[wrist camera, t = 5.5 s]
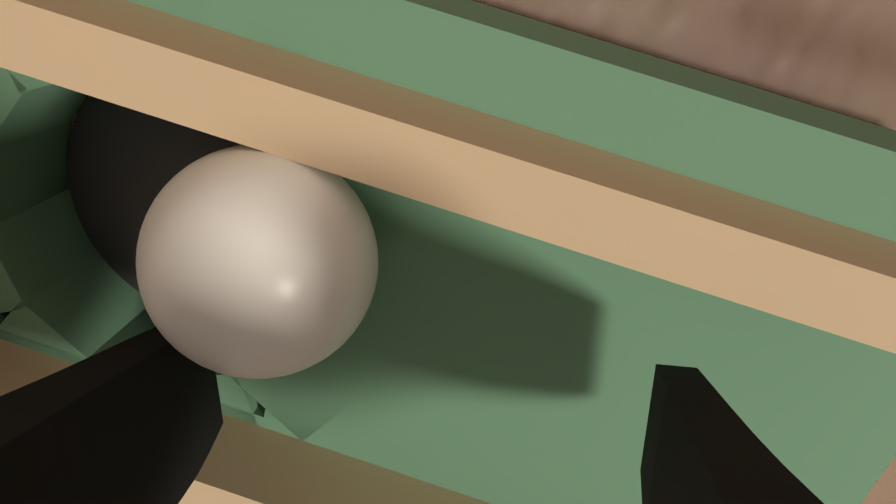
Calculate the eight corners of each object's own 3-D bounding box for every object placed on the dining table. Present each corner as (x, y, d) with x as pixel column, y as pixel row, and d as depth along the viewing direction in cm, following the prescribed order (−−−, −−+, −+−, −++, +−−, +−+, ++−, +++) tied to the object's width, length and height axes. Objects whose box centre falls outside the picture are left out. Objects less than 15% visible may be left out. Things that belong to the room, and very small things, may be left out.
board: (984, 158, 12) (1218, 286, 8) (716, 575, 17) (766, 803, 13) (-22, -153, 13) (-339, -199, 9) (-10, 331, 18) (-208, 465, 13)
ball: (414, 349, 9) (307, 94, 9) (163, 452, 9) (43, 200, 9) (412, 303, 13) (336, 119, 12) (230, 378, 13) (147, 195, 12)
